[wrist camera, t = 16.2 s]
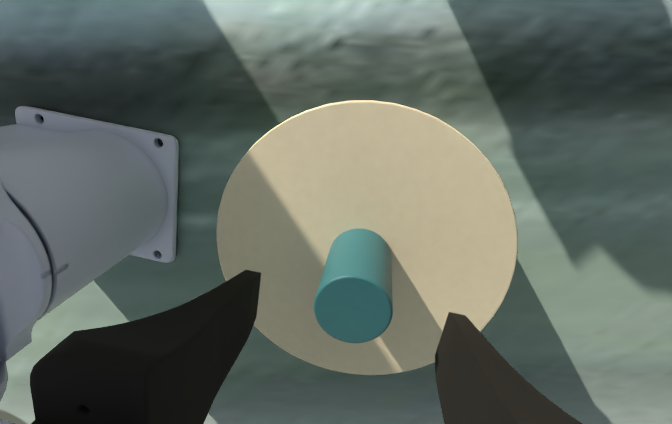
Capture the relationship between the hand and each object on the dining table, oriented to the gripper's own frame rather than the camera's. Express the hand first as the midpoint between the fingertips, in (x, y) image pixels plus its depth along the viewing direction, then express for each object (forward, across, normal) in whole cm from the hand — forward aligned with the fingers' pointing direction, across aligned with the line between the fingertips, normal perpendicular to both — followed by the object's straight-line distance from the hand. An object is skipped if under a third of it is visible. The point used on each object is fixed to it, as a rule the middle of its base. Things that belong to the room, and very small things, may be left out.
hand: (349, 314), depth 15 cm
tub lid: (+3, 0, -1) cm, 3 cm away
